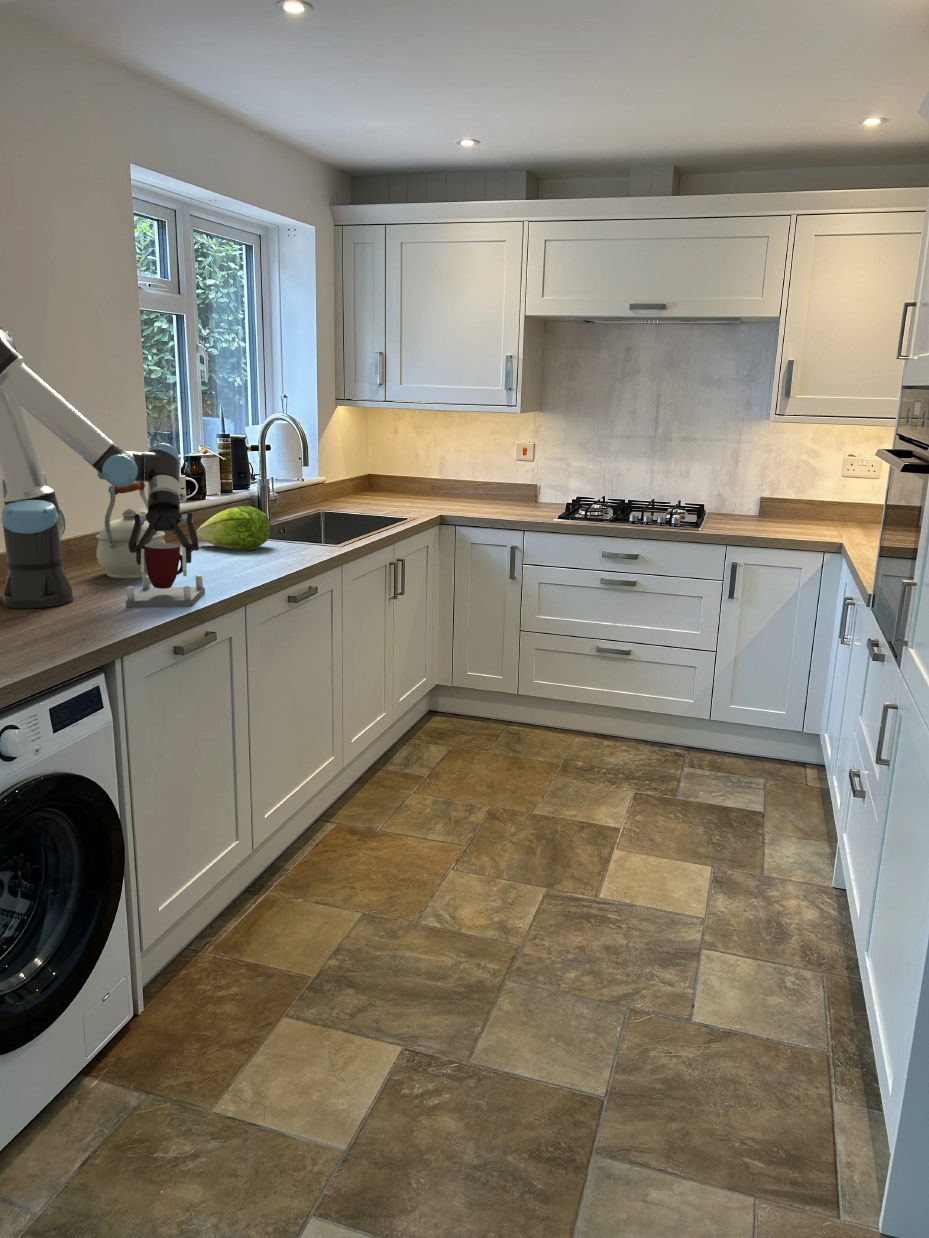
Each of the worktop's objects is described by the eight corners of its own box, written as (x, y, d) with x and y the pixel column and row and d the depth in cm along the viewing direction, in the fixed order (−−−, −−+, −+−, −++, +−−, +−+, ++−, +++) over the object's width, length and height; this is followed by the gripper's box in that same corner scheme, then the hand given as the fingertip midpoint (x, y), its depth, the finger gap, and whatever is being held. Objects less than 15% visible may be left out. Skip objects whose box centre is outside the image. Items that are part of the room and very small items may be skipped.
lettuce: (213, 521, 308) (187, 503, 294) (278, 514, 300) (254, 496, 287) (209, 562, 304) (181, 546, 290) (274, 556, 296) (250, 539, 283)
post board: (126, 607, 216) (124, 588, 215) (143, 593, 231) (142, 575, 230) (191, 606, 217) (190, 587, 216) (204, 592, 232) (203, 575, 231)
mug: (169, 580, 230) (169, 540, 227) (194, 585, 226) (194, 544, 224) (137, 586, 220) (136, 545, 218) (162, 592, 217) (162, 549, 214)
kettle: (143, 583, 243) (136, 487, 237) (80, 580, 246) (71, 485, 240) (189, 566, 266) (184, 478, 260) (131, 563, 270) (124, 477, 264)
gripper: (209, 506, 236) (212, 580, 225) (120, 508, 231) (118, 584, 220) (207, 487, 230) (210, 563, 218) (116, 489, 225) (113, 566, 214)
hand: (164, 573), depth 219 cm, fingers closed on mug, 9 cm apart
